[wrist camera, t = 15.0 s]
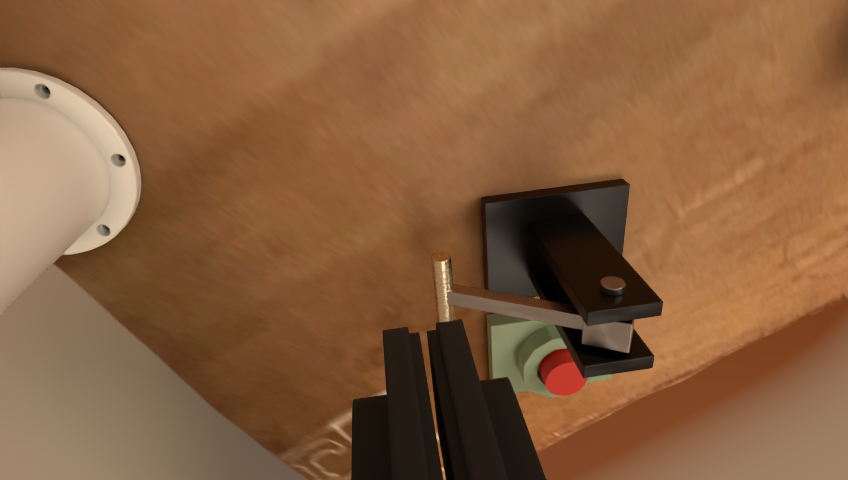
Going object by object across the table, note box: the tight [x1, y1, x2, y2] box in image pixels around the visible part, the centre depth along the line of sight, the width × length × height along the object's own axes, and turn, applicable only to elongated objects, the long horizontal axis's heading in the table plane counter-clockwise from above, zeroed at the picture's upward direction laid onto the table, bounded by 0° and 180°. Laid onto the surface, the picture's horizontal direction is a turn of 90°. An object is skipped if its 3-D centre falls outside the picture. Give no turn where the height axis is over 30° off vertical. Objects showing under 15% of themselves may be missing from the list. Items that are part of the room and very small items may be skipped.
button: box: [539, 349, 588, 396], centre depth 43 cm, size 4×4×2 cm
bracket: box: [482, 179, 663, 378], centre depth 36 cm, size 11×9×13 cm
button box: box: [487, 313, 612, 398], centre depth 45 cm, size 11×8×4 cm
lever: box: [431, 252, 635, 353], centre depth 34 cm, size 13×6×2 cm, turn 95°
